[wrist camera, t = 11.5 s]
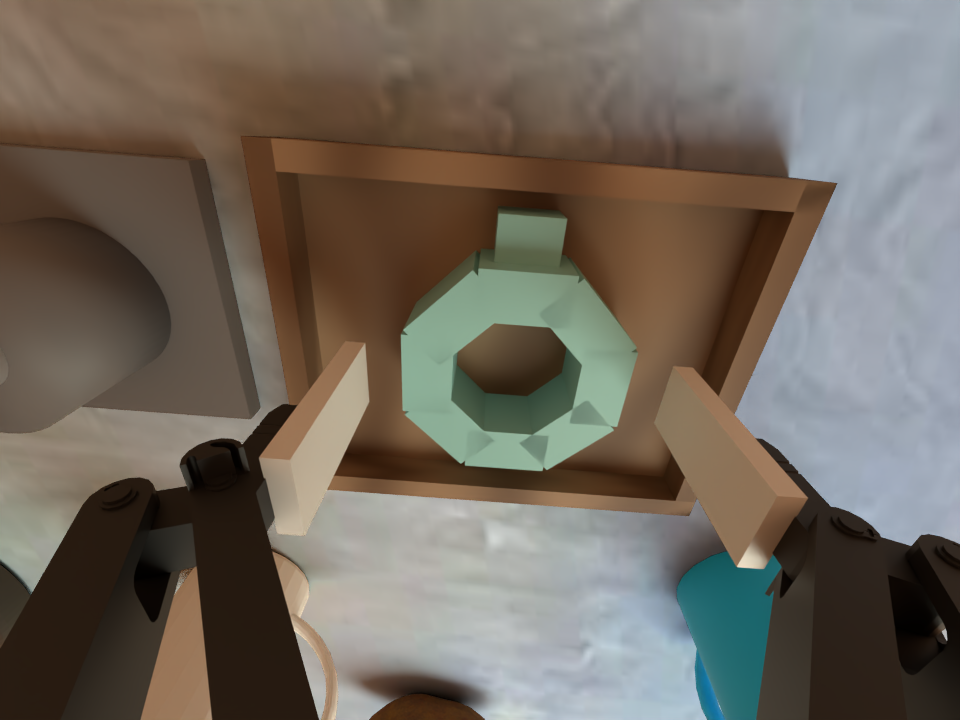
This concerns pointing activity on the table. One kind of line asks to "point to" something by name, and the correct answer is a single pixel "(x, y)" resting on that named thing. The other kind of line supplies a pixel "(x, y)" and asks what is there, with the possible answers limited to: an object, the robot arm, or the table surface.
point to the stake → (114, 289)
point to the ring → (529, 302)
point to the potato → (425, 709)
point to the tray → (516, 348)
